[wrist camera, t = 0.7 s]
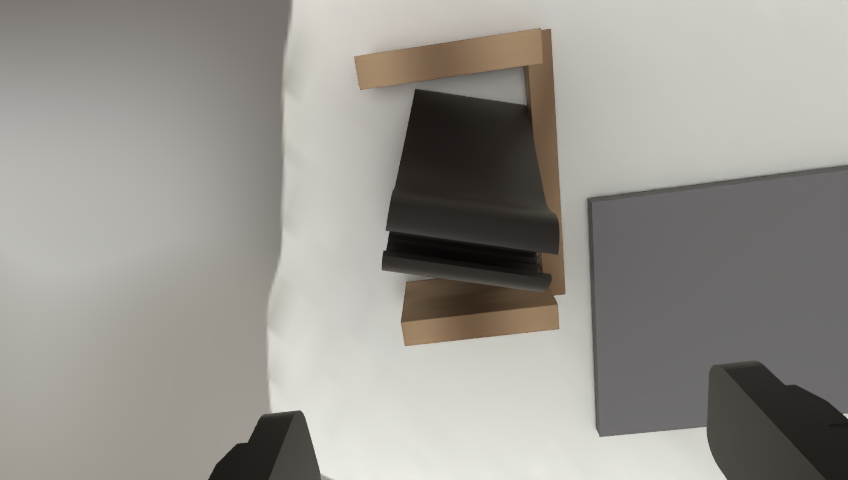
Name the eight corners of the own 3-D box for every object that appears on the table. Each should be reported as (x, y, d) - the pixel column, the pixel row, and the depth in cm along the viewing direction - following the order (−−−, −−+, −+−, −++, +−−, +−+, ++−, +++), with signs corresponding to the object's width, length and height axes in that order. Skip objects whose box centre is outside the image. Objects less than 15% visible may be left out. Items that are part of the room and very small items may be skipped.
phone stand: (415, 88, 27) (400, 108, 16) (526, 105, 27) (589, 137, 16) (394, 244, 30) (368, 355, 19) (494, 259, 30) (527, 377, 19)
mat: (885, 160, 28) (897, 163, 27) (847, 404, 33) (856, 412, 32) (587, 198, 29) (591, 202, 28) (596, 428, 34) (599, 436, 34)
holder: (545, 30, 26) (569, 23, 21) (560, 285, 31) (582, 326, 26) (368, 56, 27) (354, 56, 22) (409, 303, 32) (404, 346, 27)
